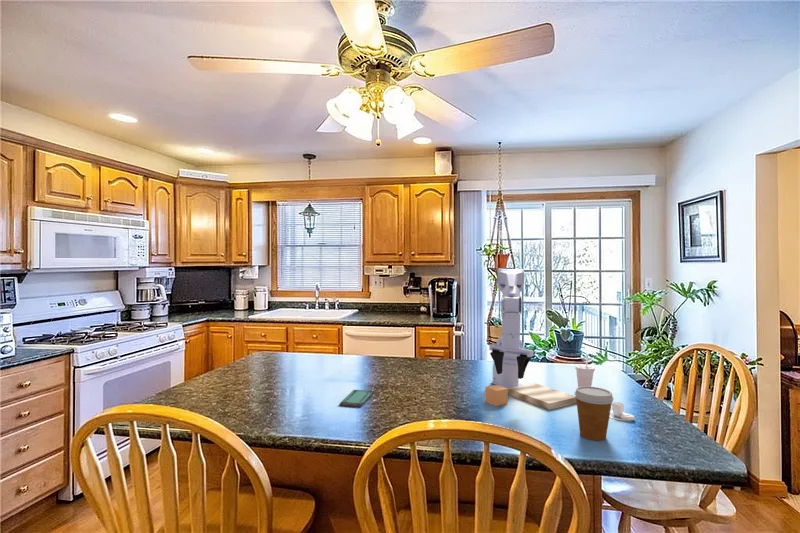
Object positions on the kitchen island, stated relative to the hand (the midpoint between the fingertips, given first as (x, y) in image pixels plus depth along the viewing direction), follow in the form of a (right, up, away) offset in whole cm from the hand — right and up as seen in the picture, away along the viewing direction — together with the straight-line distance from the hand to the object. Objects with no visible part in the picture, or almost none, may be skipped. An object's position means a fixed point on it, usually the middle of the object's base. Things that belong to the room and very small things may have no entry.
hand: (509, 375), depth 133 cm
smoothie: (+30, -10, +14) cm, 35 cm away
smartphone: (-50, -9, +3) cm, 51 cm away
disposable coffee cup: (+16, -10, -23) cm, 30 cm away
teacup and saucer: (+29, -11, -10) cm, 32 cm away
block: (-4, -10, +3) cm, 11 cm away
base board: (+13, -10, +8) cm, 18 cm away
